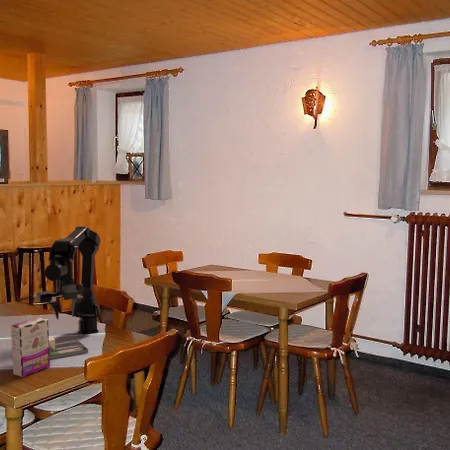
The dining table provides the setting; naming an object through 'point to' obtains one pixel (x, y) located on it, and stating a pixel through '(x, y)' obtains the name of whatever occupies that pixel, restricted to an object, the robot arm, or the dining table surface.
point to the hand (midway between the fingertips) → (65, 318)
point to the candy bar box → (30, 346)
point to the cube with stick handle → (51, 343)
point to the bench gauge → (67, 349)
